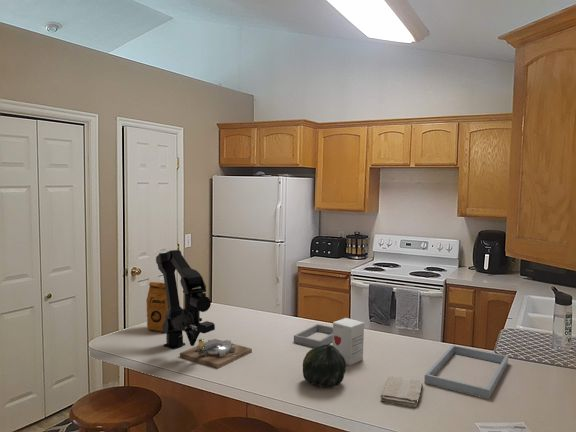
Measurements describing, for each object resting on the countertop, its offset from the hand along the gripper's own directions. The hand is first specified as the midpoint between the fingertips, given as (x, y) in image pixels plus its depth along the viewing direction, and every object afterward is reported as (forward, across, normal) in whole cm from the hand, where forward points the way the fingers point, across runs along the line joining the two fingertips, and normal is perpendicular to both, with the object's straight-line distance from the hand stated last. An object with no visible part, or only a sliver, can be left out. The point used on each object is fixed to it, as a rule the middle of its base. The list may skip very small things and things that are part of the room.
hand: (192, 345), depth 184 cm
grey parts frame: (+5, +28, +48) cm, 56 cm away
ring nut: (+4, +5, +9) cm, 10 cm away
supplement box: (+6, +50, +34) cm, 60 cm away
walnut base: (+5, +5, +9) cm, 11 cm away
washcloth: (+6, +77, +18) cm, 80 cm away
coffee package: (+5, -36, +17) cm, 41 cm away
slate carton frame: (+6, +91, +48) cm, 104 cm away
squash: (+6, +53, +10) cm, 54 cm away
